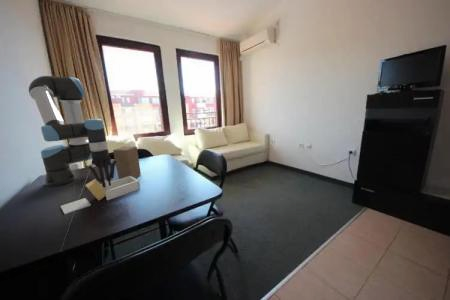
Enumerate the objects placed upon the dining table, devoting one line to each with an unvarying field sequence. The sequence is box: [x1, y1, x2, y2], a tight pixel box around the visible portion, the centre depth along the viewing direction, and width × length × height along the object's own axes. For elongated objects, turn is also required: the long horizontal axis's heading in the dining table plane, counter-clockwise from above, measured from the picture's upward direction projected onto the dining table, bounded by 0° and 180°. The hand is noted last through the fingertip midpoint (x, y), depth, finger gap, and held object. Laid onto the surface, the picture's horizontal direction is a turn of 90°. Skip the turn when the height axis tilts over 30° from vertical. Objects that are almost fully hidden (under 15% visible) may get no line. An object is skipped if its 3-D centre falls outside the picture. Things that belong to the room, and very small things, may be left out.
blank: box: [85, 178, 106, 201], centre depth 97 cm, size 5×5×9 cm
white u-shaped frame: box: [100, 176, 141, 201], centre depth 106 cm, size 12×17×5 cm
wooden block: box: [112, 145, 142, 180], centre depth 124 cm, size 10×10×20 cm
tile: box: [60, 197, 92, 215], centre depth 91 cm, size 10×10×1 cm
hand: (108, 191), depth 101 cm, fingers closed
